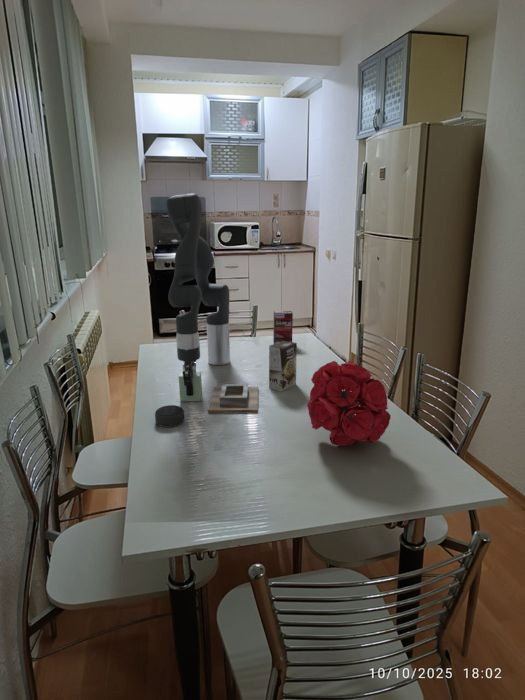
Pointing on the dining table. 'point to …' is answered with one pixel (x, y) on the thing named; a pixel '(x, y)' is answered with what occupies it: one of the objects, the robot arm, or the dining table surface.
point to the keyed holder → (234, 399)
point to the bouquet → (348, 403)
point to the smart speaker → (169, 416)
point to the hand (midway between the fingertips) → (191, 392)
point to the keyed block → (196, 388)
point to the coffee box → (282, 365)
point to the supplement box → (283, 326)
